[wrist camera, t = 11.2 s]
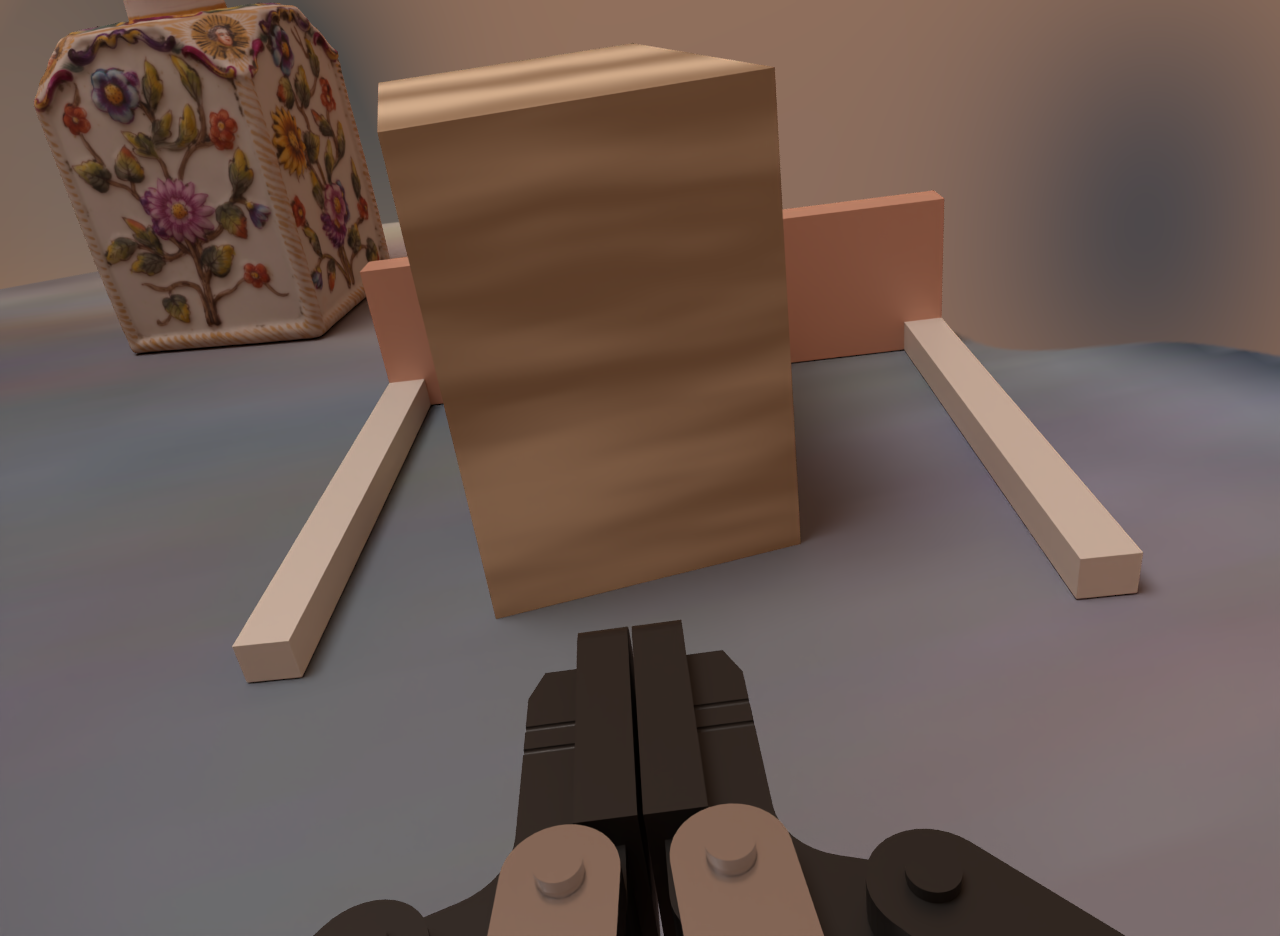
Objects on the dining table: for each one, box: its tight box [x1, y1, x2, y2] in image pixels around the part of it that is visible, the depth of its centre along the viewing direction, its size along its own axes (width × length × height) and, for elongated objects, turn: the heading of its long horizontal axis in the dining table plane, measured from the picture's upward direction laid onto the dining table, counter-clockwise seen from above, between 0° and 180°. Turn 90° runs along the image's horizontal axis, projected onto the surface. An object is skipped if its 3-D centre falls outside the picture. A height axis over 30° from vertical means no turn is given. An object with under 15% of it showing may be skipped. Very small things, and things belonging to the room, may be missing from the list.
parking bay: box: [232, 190, 1143, 682], centre depth 31 cm, size 19×23×6 cm
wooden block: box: [378, 43, 801, 619], centre depth 30 cm, size 14×9×13 cm, turn 14°
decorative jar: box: [34, 0, 390, 353], centre depth 52 cm, size 12×12×18 cm
